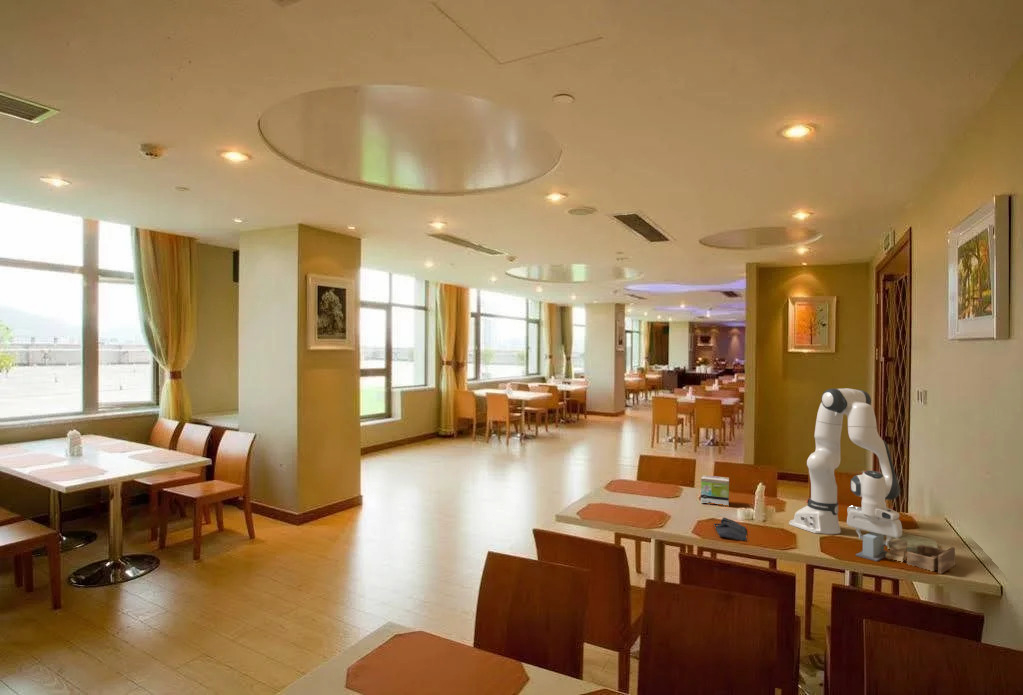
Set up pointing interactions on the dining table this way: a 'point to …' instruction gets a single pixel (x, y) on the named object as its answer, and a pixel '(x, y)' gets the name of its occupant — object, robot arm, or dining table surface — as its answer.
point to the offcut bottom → (896, 557)
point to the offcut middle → (898, 551)
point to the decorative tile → (916, 542)
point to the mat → (872, 557)
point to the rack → (932, 558)
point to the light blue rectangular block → (873, 544)
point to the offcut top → (898, 544)
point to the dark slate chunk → (731, 530)
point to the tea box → (715, 490)
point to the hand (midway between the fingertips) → (873, 542)
